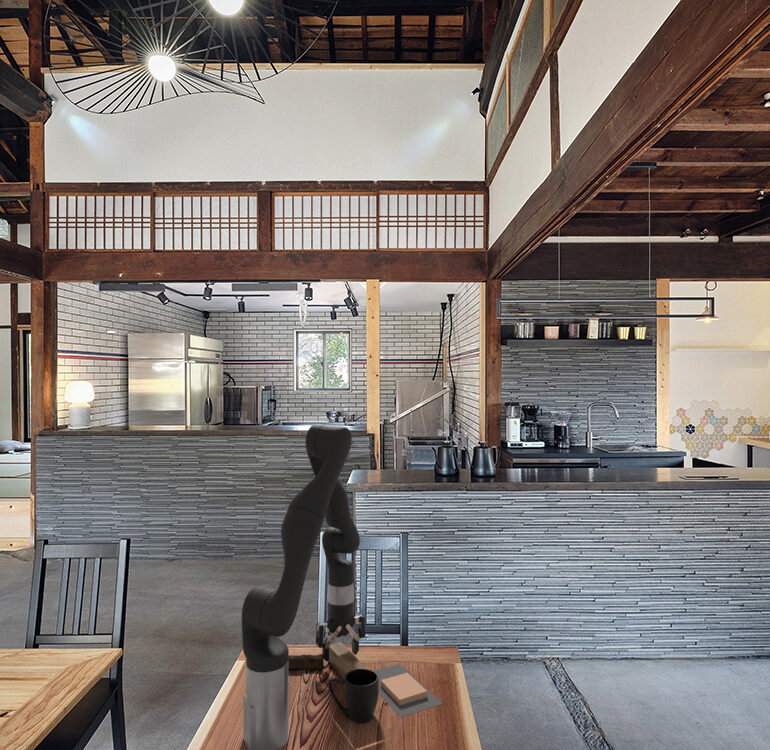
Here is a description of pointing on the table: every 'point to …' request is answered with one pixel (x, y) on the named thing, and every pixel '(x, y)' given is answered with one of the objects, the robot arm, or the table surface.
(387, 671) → the rubber mat
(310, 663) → the hand tool
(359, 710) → the mug
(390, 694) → the tile
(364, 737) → the table surface
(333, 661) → the tan wooden bar
